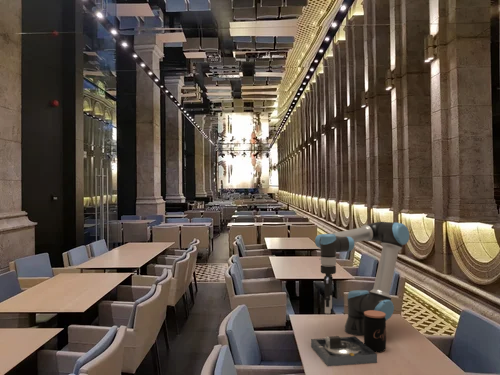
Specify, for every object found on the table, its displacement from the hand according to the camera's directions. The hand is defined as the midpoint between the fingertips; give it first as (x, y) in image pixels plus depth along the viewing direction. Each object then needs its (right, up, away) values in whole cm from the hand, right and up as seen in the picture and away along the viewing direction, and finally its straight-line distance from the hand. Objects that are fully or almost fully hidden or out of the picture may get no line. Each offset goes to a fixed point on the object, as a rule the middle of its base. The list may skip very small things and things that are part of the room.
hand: (328, 310), depth 204 cm
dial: (+6, -18, -4) cm, 19 cm away
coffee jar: (+24, -21, +3) cm, 32 cm away
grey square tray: (+6, -20, -4) cm, 21 cm away
